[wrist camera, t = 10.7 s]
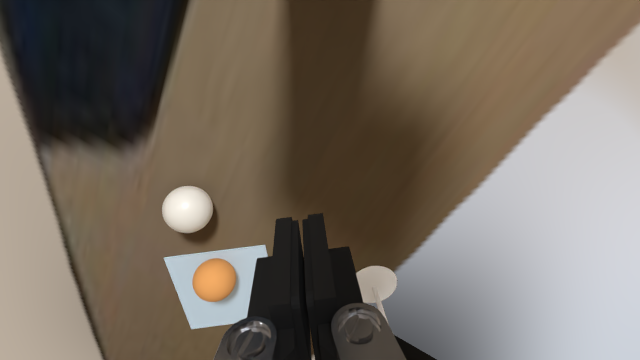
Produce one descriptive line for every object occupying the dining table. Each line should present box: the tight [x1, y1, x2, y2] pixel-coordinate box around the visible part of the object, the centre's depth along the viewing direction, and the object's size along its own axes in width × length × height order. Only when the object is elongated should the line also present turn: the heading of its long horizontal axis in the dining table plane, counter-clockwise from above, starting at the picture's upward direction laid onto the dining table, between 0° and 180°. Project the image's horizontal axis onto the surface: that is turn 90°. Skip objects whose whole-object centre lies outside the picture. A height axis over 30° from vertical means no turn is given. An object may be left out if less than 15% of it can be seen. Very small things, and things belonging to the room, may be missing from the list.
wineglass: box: [356, 266, 397, 325], centre depth 39 cm, size 8×9×20 cm
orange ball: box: [192, 258, 236, 302], centre depth 42 cm, size 6×6×6 cm
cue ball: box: [162, 186, 213, 233], centre depth 38 cm, size 6×6×6 cm
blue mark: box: [164, 245, 268, 329], centre depth 47 cm, size 14×14×1 cm
